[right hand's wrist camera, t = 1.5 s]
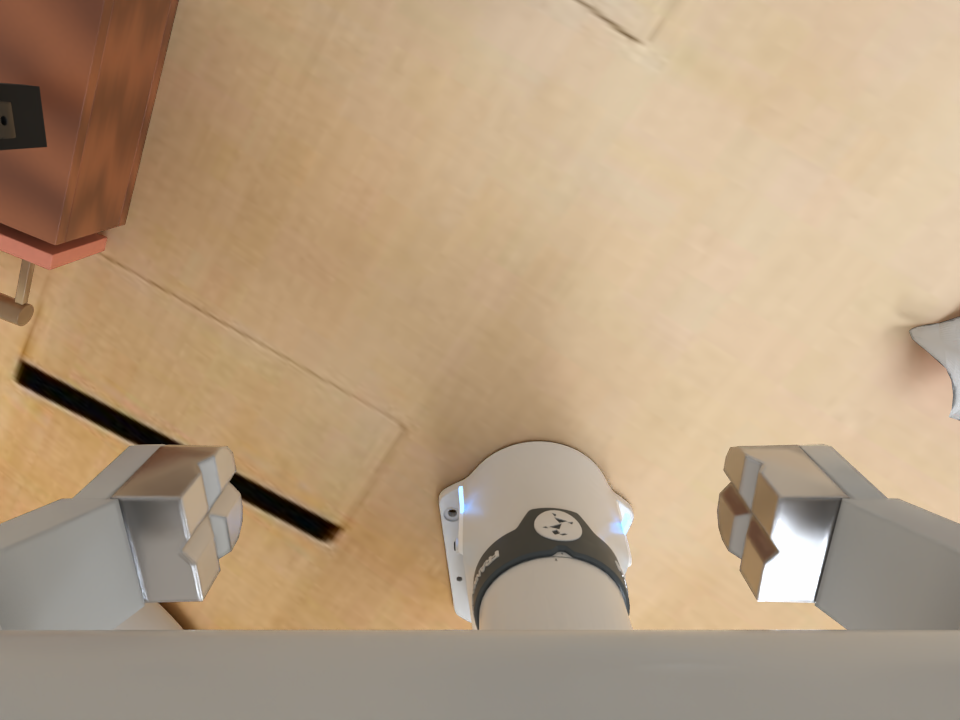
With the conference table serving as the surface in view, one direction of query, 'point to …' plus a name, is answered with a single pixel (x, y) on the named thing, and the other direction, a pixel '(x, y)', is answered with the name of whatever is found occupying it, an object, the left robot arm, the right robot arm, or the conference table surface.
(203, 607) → the conference table surface
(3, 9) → the brown open box
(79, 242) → the drawer
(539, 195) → the conference table surface
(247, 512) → the conference table surface
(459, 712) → the right robot arm
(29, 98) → the left robot arm
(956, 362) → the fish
